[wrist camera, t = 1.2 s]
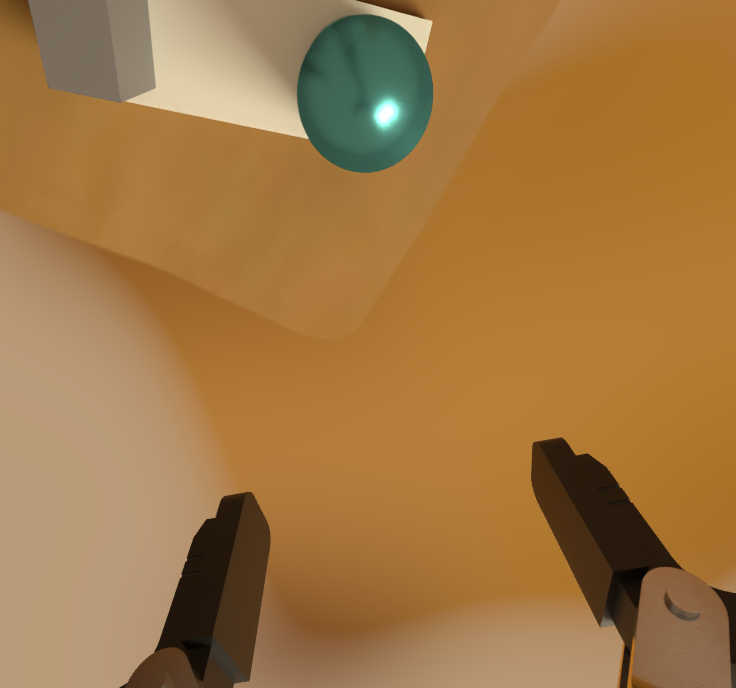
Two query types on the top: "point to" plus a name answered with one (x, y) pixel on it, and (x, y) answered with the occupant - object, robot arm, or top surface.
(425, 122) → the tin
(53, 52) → the cream flat board
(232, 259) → the top surface
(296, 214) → the top surface
